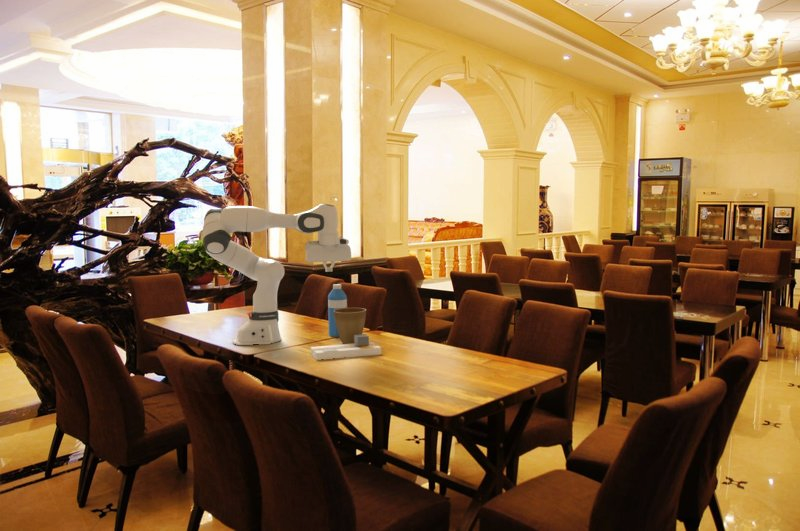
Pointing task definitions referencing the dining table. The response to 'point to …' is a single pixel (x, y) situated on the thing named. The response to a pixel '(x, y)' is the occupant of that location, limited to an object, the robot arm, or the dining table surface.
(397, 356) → the dining table surface
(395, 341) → the dining table surface
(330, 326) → the water bottle
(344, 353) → the switch plate
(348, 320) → the plant pot
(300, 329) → the dining table surface
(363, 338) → the switch knob
